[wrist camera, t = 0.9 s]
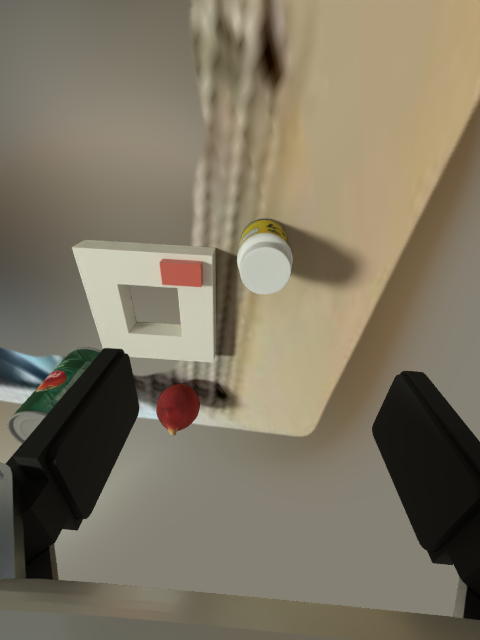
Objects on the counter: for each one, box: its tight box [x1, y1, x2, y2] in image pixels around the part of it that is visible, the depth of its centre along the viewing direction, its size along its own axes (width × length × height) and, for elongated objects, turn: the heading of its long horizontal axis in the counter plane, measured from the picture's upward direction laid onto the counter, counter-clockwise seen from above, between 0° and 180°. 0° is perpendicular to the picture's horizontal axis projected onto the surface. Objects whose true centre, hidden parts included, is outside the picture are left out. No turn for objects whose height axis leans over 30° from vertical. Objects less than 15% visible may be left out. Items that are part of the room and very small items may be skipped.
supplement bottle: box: [237, 218, 293, 295], centre depth 24 cm, size 5×5×8 cm
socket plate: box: [72, 240, 216, 363], centre depth 31 cm, size 14×14×4 cm
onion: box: [157, 384, 200, 435], centre depth 37 cm, size 6×6×8 cm
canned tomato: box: [7, 347, 101, 444], centre depth 34 cm, size 8×8×11 cm
